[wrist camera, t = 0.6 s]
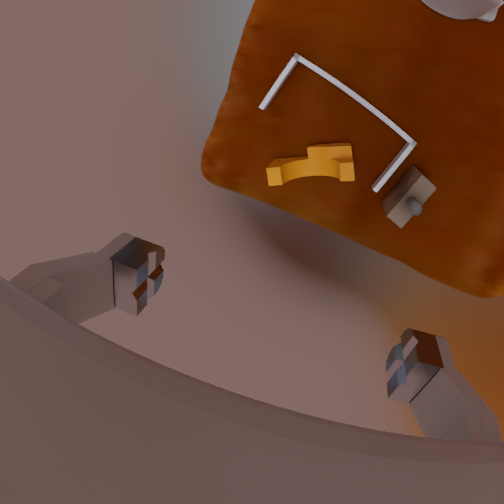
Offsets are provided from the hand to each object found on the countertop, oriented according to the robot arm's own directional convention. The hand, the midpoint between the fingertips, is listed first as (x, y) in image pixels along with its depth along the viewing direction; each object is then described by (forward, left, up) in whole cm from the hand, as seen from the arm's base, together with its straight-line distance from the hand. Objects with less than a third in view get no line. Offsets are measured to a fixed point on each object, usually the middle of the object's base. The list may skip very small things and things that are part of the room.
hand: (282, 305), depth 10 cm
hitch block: (-1, +15, -41) cm, 44 cm away
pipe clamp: (+4, 0, -42) cm, 42 cm away
